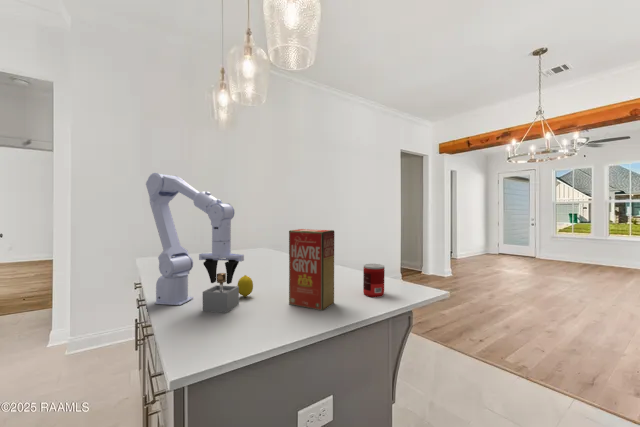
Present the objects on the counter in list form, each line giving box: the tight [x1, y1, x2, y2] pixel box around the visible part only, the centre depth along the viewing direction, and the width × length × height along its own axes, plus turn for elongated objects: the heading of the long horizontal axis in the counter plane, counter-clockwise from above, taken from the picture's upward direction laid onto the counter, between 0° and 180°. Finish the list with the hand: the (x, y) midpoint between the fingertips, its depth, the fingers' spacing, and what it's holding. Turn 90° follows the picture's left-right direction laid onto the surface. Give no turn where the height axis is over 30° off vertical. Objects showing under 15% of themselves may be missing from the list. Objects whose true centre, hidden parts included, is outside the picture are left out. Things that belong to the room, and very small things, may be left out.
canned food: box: [362, 263, 385, 298], centre depth 111 cm, size 8×8×11 cm
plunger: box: [213, 272, 230, 293], centre depth 95 cm, size 6×6×7 cm
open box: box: [202, 284, 240, 314], centre depth 95 cm, size 8×8×6 cm
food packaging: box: [288, 228, 335, 311], centre depth 99 cm, size 13×9×25 cm
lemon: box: [236, 274, 254, 298], centre depth 106 cm, size 6×6×8 cm
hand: (221, 282), depth 95 cm, fingers open, 5 cm apart
